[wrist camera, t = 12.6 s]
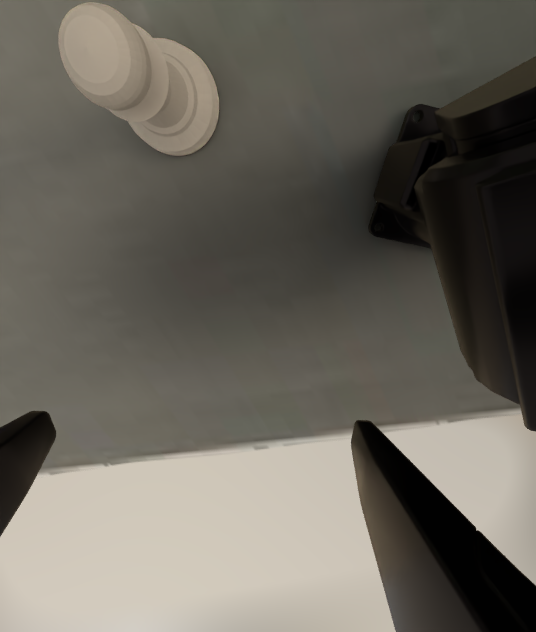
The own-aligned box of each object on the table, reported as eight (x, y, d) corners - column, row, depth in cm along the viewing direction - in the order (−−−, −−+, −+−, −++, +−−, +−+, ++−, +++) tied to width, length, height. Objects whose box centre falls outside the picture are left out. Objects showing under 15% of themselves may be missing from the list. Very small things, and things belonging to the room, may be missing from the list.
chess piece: (151, 167, 17) (59, 166, 10) (110, 63, 15) (-46, -37, 8) (232, 140, 16) (199, 118, 9) (200, 28, 14) (124, -116, 7)
